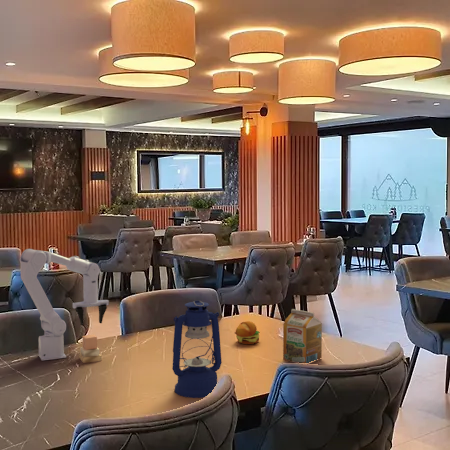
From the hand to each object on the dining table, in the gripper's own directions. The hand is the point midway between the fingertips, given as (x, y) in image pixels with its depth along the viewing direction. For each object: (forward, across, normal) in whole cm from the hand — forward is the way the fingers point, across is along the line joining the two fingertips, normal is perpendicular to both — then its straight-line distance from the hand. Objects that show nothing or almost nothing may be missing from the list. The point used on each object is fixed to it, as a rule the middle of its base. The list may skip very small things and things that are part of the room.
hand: (91, 323), depth 253 cm
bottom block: (+11, -4, -15) cm, 19 cm away
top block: (+8, -4, -15) cm, 18 cm away
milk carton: (+11, +70, -51) cm, 87 cm away
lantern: (+11, +20, -65) cm, 69 cm away
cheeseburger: (+11, +62, -20) cm, 66 cm away
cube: (+6, -4, -15) cm, 16 cm away
